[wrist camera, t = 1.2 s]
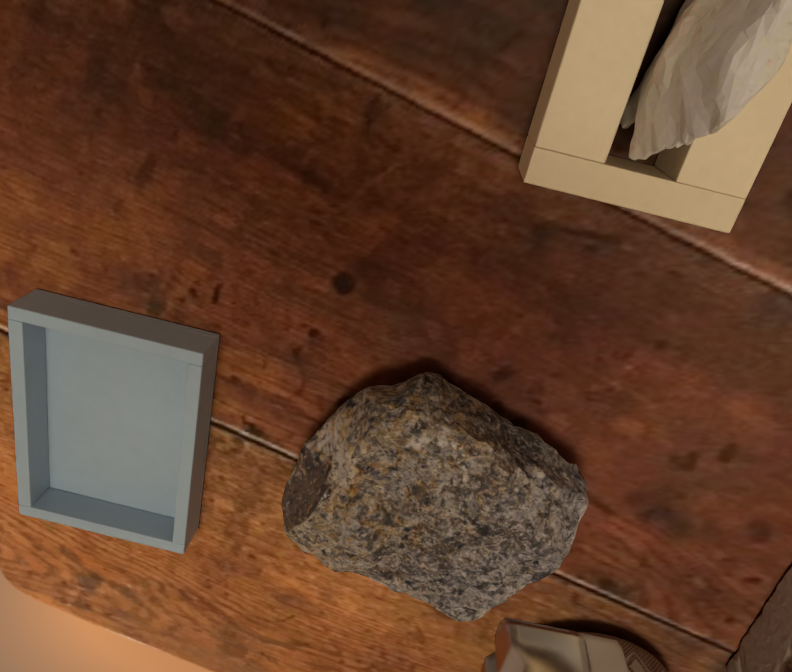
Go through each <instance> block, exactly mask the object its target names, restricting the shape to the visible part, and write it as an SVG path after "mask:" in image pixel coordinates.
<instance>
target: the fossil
mask: <svg viewBox="0 0 792 672" xmlns="http://www.w3.org/2000/svg"><path fill="white" fill-rule="evenodd" d="M727 671H728V672H792V566H791V568H790V569H789V570H788V572H787V573H786V574H785V576H784V577H783V579H782V580H781V582H780V583H779V584H778V586H777V588H776V590H775V592H774V593H773V595H772V596H771V597H770V599H769V601H768V602H767V603H766V604H765V606H764V608H763V611H762V613H761V614H760V616H759V617H758V618H757V619H756V621H755V622H754V624H753V625H752V627H751V628H750V630H749V632H748V633H747V634H746V635H745V636H744V638H743V640H742V642H741V644H740V649H739V651H738V652H737V653H736V654H735V655H734V656H733V657H732V658H731V660H730V661H729V662H728V665H727Z"/></svg>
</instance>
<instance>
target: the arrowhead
mask: <svg viewBox="0 0 792 672" xmlns="http://www.w3.org/2000/svg"><path fill="white" fill-rule="evenodd" d="M791 43H792V0H685V2H684V3H683V5H682V7H681V9H680V11H679V13H678V15H677V18H676V20H675V22H674V25H673V27H672V29H671V31H670V33H669V35H668V37H667V39H666V41H665V42H664V44H663V45H662V47H661V48H660V50H659V51H658V53H657V54H656V56H655V58H654V60H653V61H652V63H651V65H650V66H649V67H648V69H647V70H646V72H645V73H644V76H643V79H642V81H641V82H640V84H639V86H638V88H637V89H636V90H635V91H634V93H633V94H632V96H631V97H630V99H629V101H628V102H627V104H626V107H625V110H624V113H623V115H622V118H621V121H620V124H621V125H622V128H625V129H627V128H629V127H630V126H631V125H632V124H633V123H634V122H635V128H634V134H633V137H632V140H631V143H630V150H629V156H628V157H629V158H631V159H632V160H637V159H643V160H646V159H647V158H648V157H649V156H651V155H653V154H656V153H658V152H660V151H662V150H664V149H671V148H674V147H677V148H679V147H680V146H682V145H683V144H685V145H687V146H688V145H689V144H691V143H692V142H693V141H694V140H695V139H696V138H700V137H704V136H707V135H709V134H714V133H716V132H717V131H719V130H720V129H721V128H722V127H724V126H725V125H726V124H727V123H729V122H730V121H731V120H732V119H733V118H734V117H736V116H737V115H738V114H739V112H740V111H741V110H742V109H743V108H744V107H745V106H746V104H747V103H748V102H749V101H750V100H751V99H752V98H753V97H754V96H755V95H756V94H757V93H758V92H760V91H761V90H762V89H763V88H764V87H765V86H766V85H767V84H768V82H769V81H770V80H771V79H772V78H773V77H774V76H775V75H776V73H777V72H778V71H779V69H780V68H781V66H782V64H783V63H784V61H785V59H786V56H787V53H788V51H789V48H790V45H791Z"/></svg>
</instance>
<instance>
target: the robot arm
mask: <svg viewBox="0 0 792 672" xmlns="http://www.w3.org/2000/svg"><path fill="white" fill-rule="evenodd" d="M495 649H496V652H495V653H493V654H491V655H489V656H487V657H486V658H485V661H484V664H483V666H482V669H481V672H629V671H628V667H627V664H626V660H625V656H624V653H623V649H622V647H621V646H620V645H619V643H618V642H617V640H612V639H607V638H602V637H598V636H593V635H588V634H583V633H577V632H575V631H571V630H566V629H561V628H556V627H551V626H546V625H541V624H536V623H531V622H526V621H521V620H516V619H511V618H506V617H505V618H504V619H503V620H502V621H501V622H500V624H499V627H498V629H497V631H496V634H495Z"/></svg>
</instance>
